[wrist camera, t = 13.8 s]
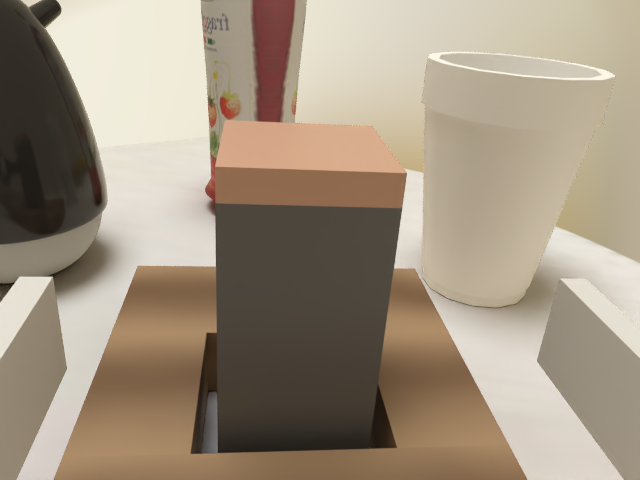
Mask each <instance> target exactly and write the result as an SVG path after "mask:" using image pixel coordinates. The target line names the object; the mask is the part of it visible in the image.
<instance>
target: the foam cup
mask: <svg viewBox="0 0 640 480" xmlns="http://www.w3.org/2000/svg"><path fill="white" fill-rule="evenodd" d="M615 78H616V76H614V75H613V74H611V73H610V72H608V71H606V70H601V69H597V68H593V67H590V66H586V65H581V64H575V63H569V62H563V61H557V60H551V59H544V58H535V57H527V56H518V55H508V54H495V53H481V52H442V53H431V54H430V55H429V56H428V59H427V66H426V73H425V80H424V87H423V94H422V101H421V102H422V103H423V104H425V130H424V131H425V132H424V186H423V244H422V268H423V275H422V277H423V279H424V280H425V281H426V283H427V284H428V285H429V287H430V288H431V289H433V290H434V291H436V292H438V293H440V294H441V295H443V296H445V297H446V298H448V299H451V300H455V301H458V302H461V303H465V304H468V305H471V306H482V307H496V308H497V307H502V306H507V305H512V304H516V303H517V302H518V301H520V300H521V299H522V298H523V297H524V296H525V295H526V291H527V288H528V287H529V286H530V284H531V282H532V279H533V277H534V275H535V272H536V270H537V267H538V265H539V263H540V260H541V258H542V256H543V253H544V251H545V249H546V246H547V244H548V241H549V239H550V237H551V234H552V232H553V230H554V227H555V225H556V223H557V220H558V218H559V215H560V213H561V211H562V208H563V206H564V203H565V201H566V199H567V196H568V194H569V192H570V189H571V187H572V185H573V182H574V180H575V177H576V175H577V173H578V171H579V168H580V166H581V164H582V161H583V159H584V156H585V154H586V152H587V149H588V147H589V144H590V142H591V140H592V138H593V135H594V133H595V130H596V128H597V126H599V125H601V124H603V121H604V118H605V114H606V110H607V107H608V103H609V99H610V96H611V93H612V89H613V85H614V82H615Z"/></svg>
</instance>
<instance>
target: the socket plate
mask: <svg viewBox="0 0 640 480" xmlns="http://www.w3.org/2000/svg"><path fill="white" fill-rule="evenodd" d="M208 391H217V310H216V267H193V266H138V267H137V269H136V272H135V274H134V277H133V280H132V282H131V285H130V287H129V290H128V292H127V295H126V297H125V300H124V302H123V305H122V307H121V310H120V313H119V315H118V318H117V320H116V323H115V325H114V328H113V330H112V333H111V335H110V338H109V340H108V343H107V346H106V348H105V351H104V353H103V356H102V358H101V361H100V363H99V366H98V368H97V371H96V373H95V376H94V379H93V381H92V384H91V386H90V389H89V391H88V394H87V396H86V399H85V401H84V404H83V406H82V409H81V412H80V414H79V417H78V419H77V422H76V424H75V427H74V429H73V432H72V434H71V437H70V439H69V442H68V445H67V447H66V450H65V452H64V455H63V457H62V460H61V462H60V465H59V467H58V470H57V472H56V475H55V478H54V480H527V478H526V476H525V474H524V472H523V471H522V469H521V467H520V465H519V463H518V461H517V459H516V458H515V456H514V454H513V452H512V450H511V448H510V446H509V444H508V443H507V441H506V439H505V437H504V435H503V433H502V431H501V429H500V428H499V426H498V424H497V422H496V420H495V418H494V416H493V415H492V413H491V411H490V409H489V407H488V405H487V403H486V401H485V400H484V398H483V396H482V394H481V392H480V390H479V388H478V386H477V385H476V383H475V381H474V379H473V377H472V375H471V373H470V372H469V370H468V368H467V366H466V364H465V362H464V360H463V358H462V357H461V355H460V353H459V351H458V349H457V347H456V345H455V343H454V342H453V340H452V338H451V336H450V334H449V332H448V330H447V329H446V327H445V325H444V323H443V321H442V319H441V317H440V315H439V314H438V312H437V310H436V308H435V306H434V304H433V302H432V300H431V299H430V297H429V295H428V293H427V291H426V289H425V287H424V286H423V284H422V282H421V280H420V278H419V276H418V274H417V272H416V271H415V269H394V270H393V277H392V285H391V292H390V299H389V306H388V314H387V321H386V328H385V335H384V343H383V350H382V357H381V364H380V372H379V379H378V386H377V393H376V400H375V408H374V415H373V422H372V429H371V437H370V448H371V449H346V450H312V451H277V452H242V453H208V454H201V447H202V438H203V429H204V420H205V411H206V402H207V393H208Z"/></svg>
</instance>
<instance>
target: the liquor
mask: <svg viewBox="0 0 640 480" xmlns="http://www.w3.org/2000/svg"><path fill="white" fill-rule="evenodd" d="M306 1H307V0H201V13H202V25H203V37H204V50H205V62H206V75H207V93H208V111H209V129H210V156H211V179H210V181H209V183H208V185H207V186H206V188H205V192H206V193H207V195H208V196H209V197H210V198H211V199H212V200H214V201H215V164H216V160H217V155H218V150H219V146H220V141H221V136H222V132H223V127H224V122H225V120H235V121H258V122H281V123H295V112H296V101H297V100H296V99H297V89H298V77H299V68H300V59H301V51H302V41H303V33H304V24H305V14H306Z"/></svg>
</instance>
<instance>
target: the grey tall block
mask: <svg viewBox="0 0 640 480" xmlns="http://www.w3.org/2000/svg"><path fill="white" fill-rule="evenodd" d="M406 176H407V173H406V171H405V170H404V169H403V167H402V166H401V164H400V163H399V162H398V161H397V159H396V158H395V156H394V155H393V154H392V152H391V151H390V150H389V148H388V147H387V146H386V144H385V143H384V141H383V140H382V139H381V137H380V136H379V135H378V133H377V132H376V131H375V129H374V128H373V127H372V126H351V125H327V124H326V125H325V124H303V123H281V122H258V121H235V120H225V122H224V127H223V132H222V136H221V141H220V146H219V150H218V155H217V160H216V164H215V216H216V310H217V404H218V453H242V452H277V451H312V450H346V449H369V444H370V437H371V429H372V422H373V415H374V408H375V400H376V393H377V386H378V379H379V372H380V364H381V357H382V350H383V343H384V335H385V328H386V321H387V314H388V306H389V299H390V292H391V285H392V277H393V270H394V263H395V256H396V249H397V241H398V234H399V227H400V220H401V212H402V205H403V198H404V191H405V183H406Z"/></svg>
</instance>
